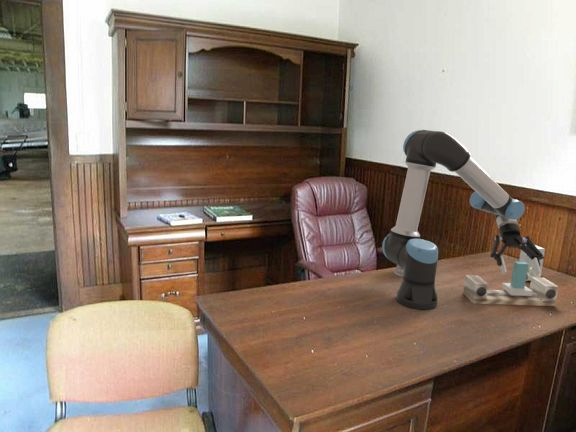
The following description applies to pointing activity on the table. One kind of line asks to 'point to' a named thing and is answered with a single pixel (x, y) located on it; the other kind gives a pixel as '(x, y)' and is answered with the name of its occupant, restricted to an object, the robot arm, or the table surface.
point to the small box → (528, 260)
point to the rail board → (480, 294)
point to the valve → (532, 271)
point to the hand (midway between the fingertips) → (521, 273)
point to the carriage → (518, 281)
